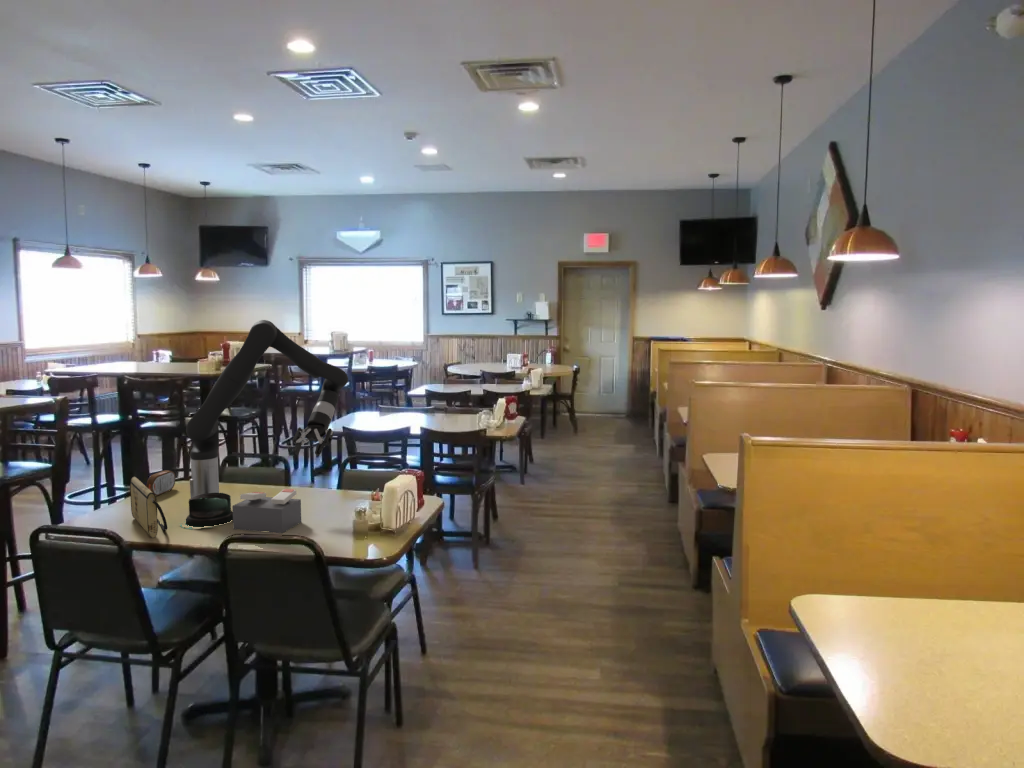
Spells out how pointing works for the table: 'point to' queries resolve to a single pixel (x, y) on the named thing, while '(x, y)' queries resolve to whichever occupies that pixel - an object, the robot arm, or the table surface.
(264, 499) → the switch box
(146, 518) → the clutch purse
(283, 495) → the right rocker
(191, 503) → the dark green hat
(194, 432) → the robot arm
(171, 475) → the tin
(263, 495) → the left rocker
